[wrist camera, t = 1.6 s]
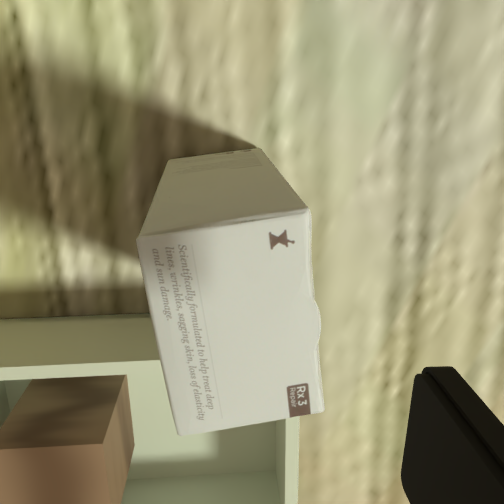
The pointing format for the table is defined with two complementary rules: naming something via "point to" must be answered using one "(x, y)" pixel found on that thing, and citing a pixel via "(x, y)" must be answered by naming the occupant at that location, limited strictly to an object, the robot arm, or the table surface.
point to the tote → (152, 413)
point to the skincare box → (232, 292)
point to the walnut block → (67, 442)
